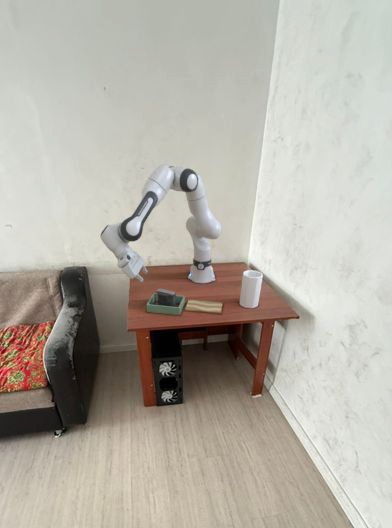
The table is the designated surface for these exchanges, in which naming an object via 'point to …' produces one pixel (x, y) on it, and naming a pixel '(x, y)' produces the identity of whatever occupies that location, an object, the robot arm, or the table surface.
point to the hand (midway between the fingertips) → (144, 277)
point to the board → (204, 306)
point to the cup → (250, 288)
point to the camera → (165, 298)
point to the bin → (165, 309)
